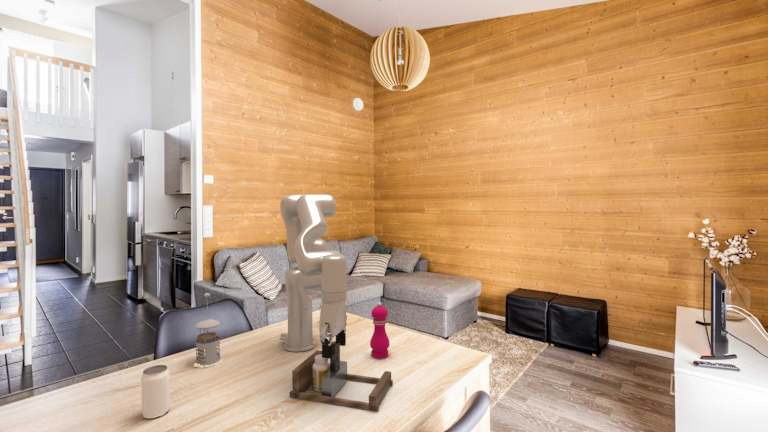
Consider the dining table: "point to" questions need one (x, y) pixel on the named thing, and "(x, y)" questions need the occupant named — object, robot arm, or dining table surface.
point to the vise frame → (304, 381)
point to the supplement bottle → (319, 371)
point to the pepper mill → (379, 333)
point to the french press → (207, 342)
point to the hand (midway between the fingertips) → (334, 351)
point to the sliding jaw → (334, 373)
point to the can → (155, 391)
